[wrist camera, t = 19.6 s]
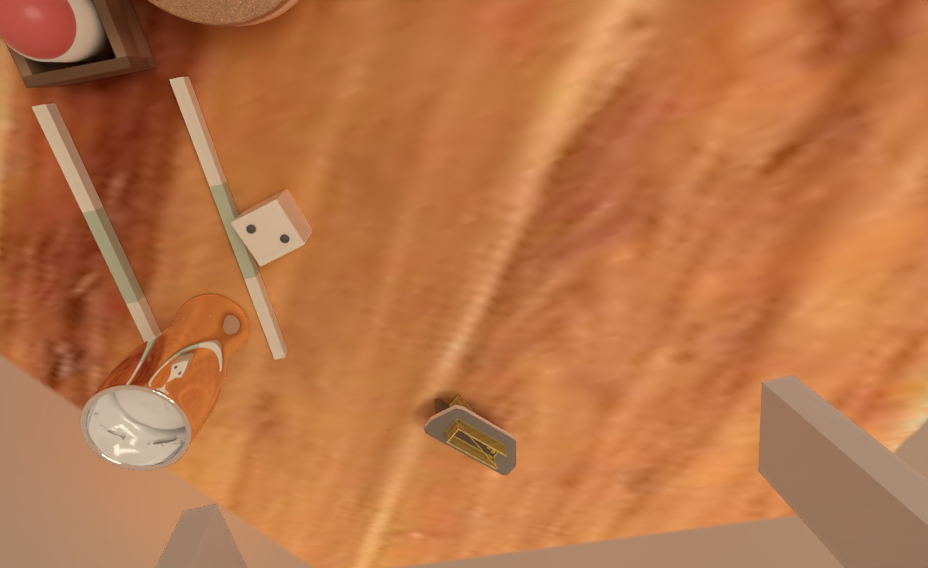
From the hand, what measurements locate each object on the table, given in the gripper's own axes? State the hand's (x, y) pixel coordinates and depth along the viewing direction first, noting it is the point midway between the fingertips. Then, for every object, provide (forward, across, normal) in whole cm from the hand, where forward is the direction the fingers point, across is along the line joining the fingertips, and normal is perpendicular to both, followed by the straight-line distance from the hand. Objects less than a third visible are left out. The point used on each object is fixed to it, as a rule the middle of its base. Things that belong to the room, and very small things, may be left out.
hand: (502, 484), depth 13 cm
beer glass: (+35, -21, -8) cm, 42 cm away
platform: (+35, -1, -23) cm, 42 cm away
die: (+35, -13, 0) cm, 37 cm away
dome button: (+34, -21, +16) cm, 43 cm away
